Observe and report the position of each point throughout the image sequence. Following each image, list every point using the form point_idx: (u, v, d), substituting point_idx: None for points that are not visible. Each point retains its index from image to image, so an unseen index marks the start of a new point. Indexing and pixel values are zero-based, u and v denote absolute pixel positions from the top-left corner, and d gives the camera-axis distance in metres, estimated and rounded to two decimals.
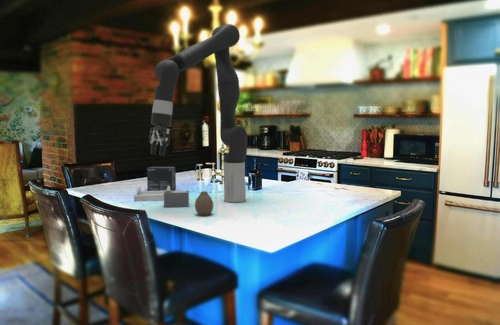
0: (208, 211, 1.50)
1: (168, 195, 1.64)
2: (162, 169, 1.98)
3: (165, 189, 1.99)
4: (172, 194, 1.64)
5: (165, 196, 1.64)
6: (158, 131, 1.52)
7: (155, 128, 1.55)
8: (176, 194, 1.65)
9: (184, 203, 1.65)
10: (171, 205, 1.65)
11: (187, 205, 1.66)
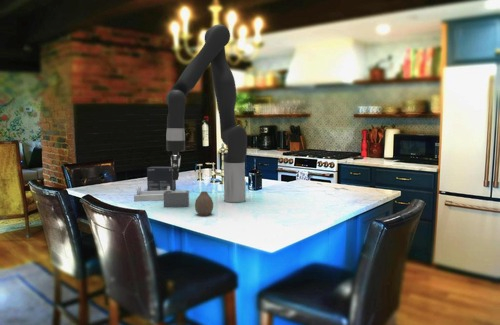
0: (208, 211, 1.50)
1: (168, 195, 1.64)
2: (162, 169, 1.98)
3: (165, 189, 1.99)
4: (172, 194, 1.64)
5: (165, 196, 1.64)
6: (171, 157, 1.63)
7: None
8: (176, 194, 1.65)
9: (184, 203, 1.65)
10: (171, 205, 1.65)
11: (187, 205, 1.65)
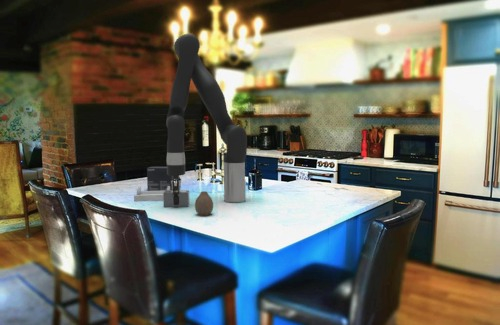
0: (208, 211, 1.50)
1: (168, 195, 1.64)
2: (162, 169, 1.98)
3: (165, 189, 1.99)
4: (172, 194, 1.64)
5: (165, 196, 1.64)
6: (172, 181, 1.64)
7: None
8: None
9: (183, 203, 1.65)
10: (171, 205, 1.65)
11: (187, 205, 1.65)
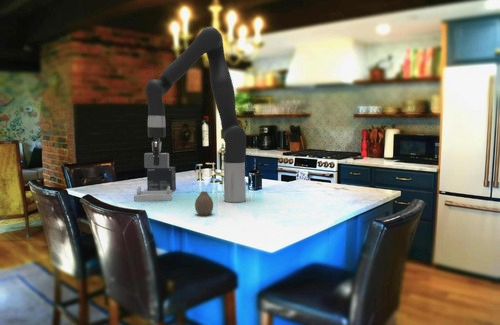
0: (208, 211, 1.50)
1: (148, 156, 1.73)
2: (162, 169, 1.98)
3: (165, 189, 1.99)
4: (152, 155, 1.73)
5: (145, 156, 1.73)
6: (152, 143, 1.73)
7: None
8: None
9: (163, 164, 1.74)
10: (151, 165, 1.74)
11: (166, 166, 1.74)
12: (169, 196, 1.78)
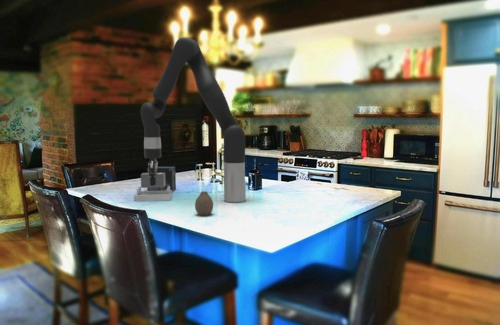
0: (208, 211, 1.50)
1: (145, 176, 1.79)
2: (162, 169, 1.98)
3: (165, 189, 1.99)
4: (148, 175, 1.79)
5: (142, 177, 1.79)
6: (149, 164, 1.79)
7: None
8: None
9: (159, 184, 1.80)
10: (147, 185, 1.79)
11: (162, 185, 1.80)
12: (169, 196, 1.78)
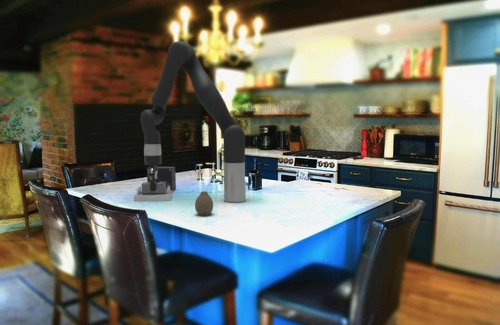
0: (208, 211, 1.50)
1: (145, 186, 1.79)
2: (162, 169, 1.98)
3: None
4: (149, 185, 1.80)
5: (143, 187, 1.79)
6: (149, 170, 1.79)
7: None
8: None
9: (160, 193, 1.80)
10: None
11: None
12: (169, 196, 1.78)
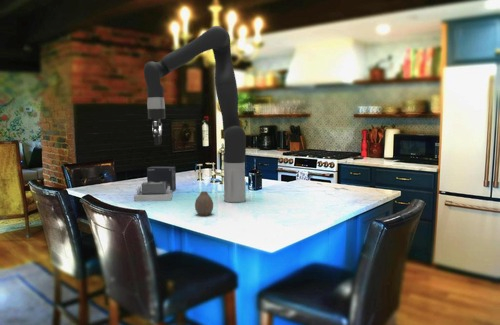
0: (208, 211, 1.50)
1: (145, 186, 1.79)
2: (162, 169, 1.98)
3: None
4: (149, 185, 1.80)
5: (143, 187, 1.79)
6: (153, 124, 1.76)
7: None
8: (153, 185, 1.80)
9: (160, 193, 1.80)
10: None
11: None
12: (169, 196, 1.78)
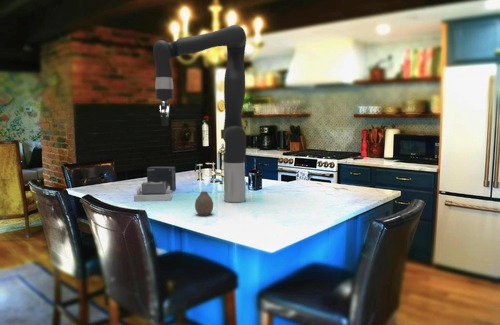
0: (208, 211, 1.50)
1: (145, 186, 1.79)
2: (162, 169, 1.98)
3: None
4: (149, 185, 1.80)
5: (143, 187, 1.79)
6: (160, 105, 1.73)
7: None
8: (153, 185, 1.80)
9: (160, 193, 1.80)
10: None
11: None
12: (169, 196, 1.78)
